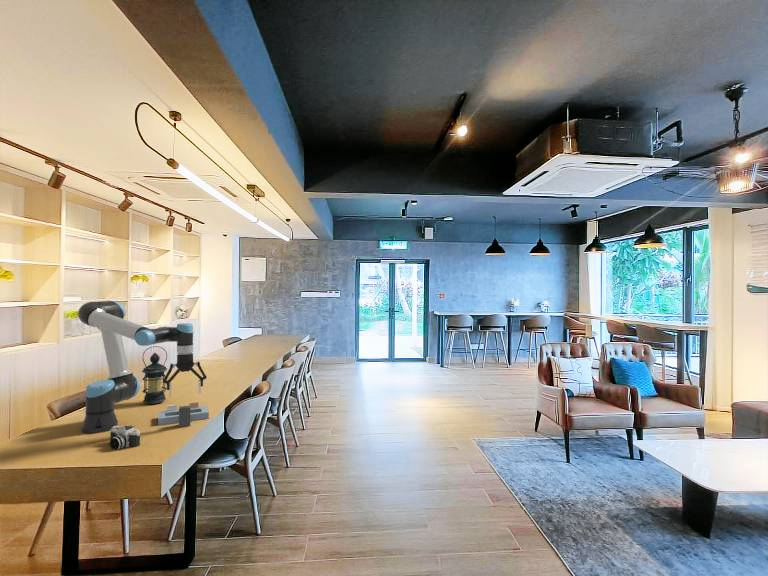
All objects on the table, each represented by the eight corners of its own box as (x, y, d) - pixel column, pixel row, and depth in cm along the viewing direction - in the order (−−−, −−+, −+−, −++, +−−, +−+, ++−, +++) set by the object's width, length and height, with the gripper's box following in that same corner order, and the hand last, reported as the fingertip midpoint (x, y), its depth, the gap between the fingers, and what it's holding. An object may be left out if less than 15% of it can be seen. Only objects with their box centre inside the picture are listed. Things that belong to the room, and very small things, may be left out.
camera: (98, 449, 179) (98, 426, 179) (116, 442, 187) (116, 420, 187) (125, 453, 174) (126, 430, 174) (143, 446, 182) (143, 424, 182)
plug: (179, 428, 205) (179, 409, 205) (179, 425, 209) (179, 406, 209) (190, 427, 207) (190, 407, 207) (189, 424, 212) (189, 405, 212)
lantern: (137, 406, 243) (137, 348, 243) (147, 400, 256) (147, 345, 256) (162, 405, 244) (162, 347, 244) (171, 399, 258) (171, 344, 258)
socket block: (158, 426, 208) (158, 413, 208) (158, 418, 220) (158, 405, 220) (208, 419, 219) (208, 406, 219) (206, 412, 232) (206, 400, 232)
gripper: (157, 356, 199) (157, 399, 199) (212, 352, 211) (212, 393, 211) (157, 354, 206) (157, 396, 206) (210, 350, 218) (210, 389, 218)
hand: (185, 394), depth 208 cm, fingers open, 13 cm apart
